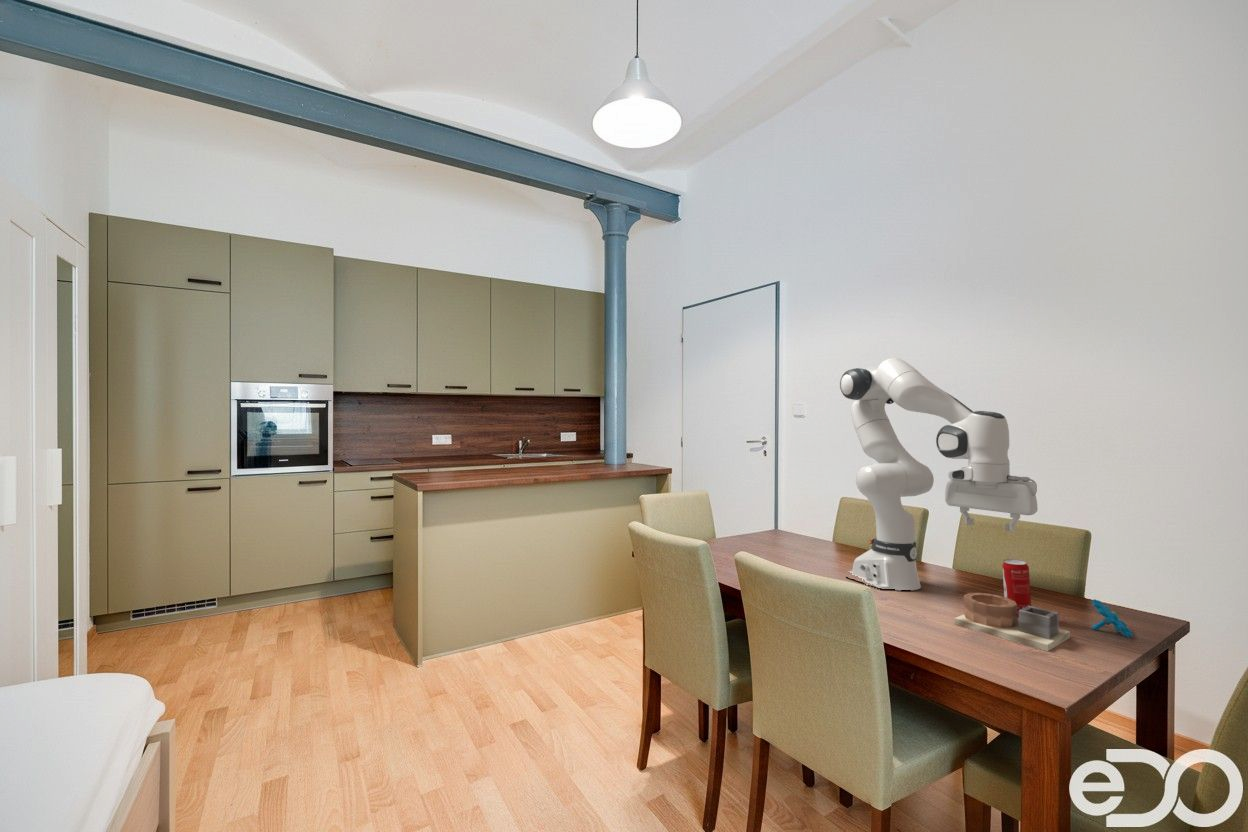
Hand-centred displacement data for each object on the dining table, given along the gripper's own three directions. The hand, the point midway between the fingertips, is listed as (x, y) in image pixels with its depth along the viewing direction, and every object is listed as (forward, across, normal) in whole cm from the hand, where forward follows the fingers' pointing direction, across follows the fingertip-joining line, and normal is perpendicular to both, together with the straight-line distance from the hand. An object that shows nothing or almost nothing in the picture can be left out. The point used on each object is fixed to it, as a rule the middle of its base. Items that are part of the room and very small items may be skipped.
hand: (989, 527), depth 139 cm
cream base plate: (+25, -4, 0) cm, 25 cm away
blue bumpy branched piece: (+25, -19, -19) cm, 37 cm away
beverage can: (+25, -2, -12) cm, 28 cm away
